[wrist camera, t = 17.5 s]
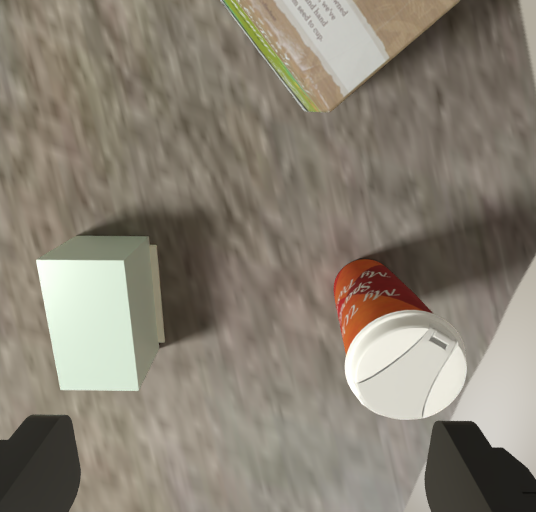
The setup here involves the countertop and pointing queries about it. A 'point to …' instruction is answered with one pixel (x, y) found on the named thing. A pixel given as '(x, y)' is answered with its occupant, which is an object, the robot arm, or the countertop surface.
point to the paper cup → (396, 345)
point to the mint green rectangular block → (100, 311)
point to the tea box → (332, 40)
